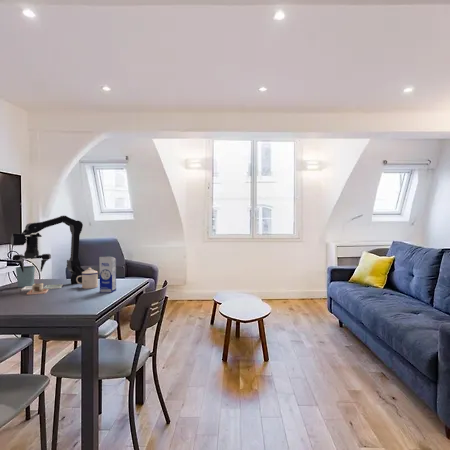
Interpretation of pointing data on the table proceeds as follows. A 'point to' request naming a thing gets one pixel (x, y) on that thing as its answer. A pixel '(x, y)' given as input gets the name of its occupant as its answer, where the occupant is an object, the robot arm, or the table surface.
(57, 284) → the dish
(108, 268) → the milk carton
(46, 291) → the dish
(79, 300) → the table surface
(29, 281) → the teal patterned cup
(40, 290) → the letter cube
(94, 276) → the teacup with lid
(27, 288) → the dish
